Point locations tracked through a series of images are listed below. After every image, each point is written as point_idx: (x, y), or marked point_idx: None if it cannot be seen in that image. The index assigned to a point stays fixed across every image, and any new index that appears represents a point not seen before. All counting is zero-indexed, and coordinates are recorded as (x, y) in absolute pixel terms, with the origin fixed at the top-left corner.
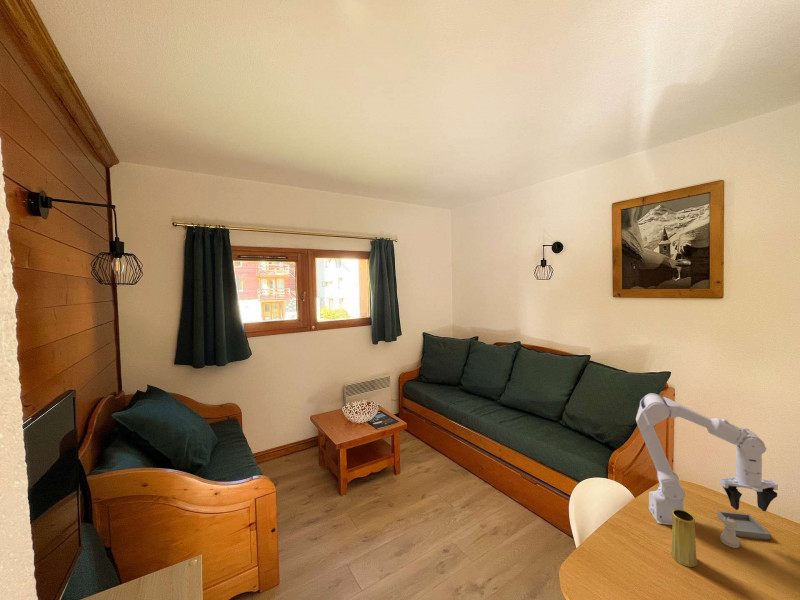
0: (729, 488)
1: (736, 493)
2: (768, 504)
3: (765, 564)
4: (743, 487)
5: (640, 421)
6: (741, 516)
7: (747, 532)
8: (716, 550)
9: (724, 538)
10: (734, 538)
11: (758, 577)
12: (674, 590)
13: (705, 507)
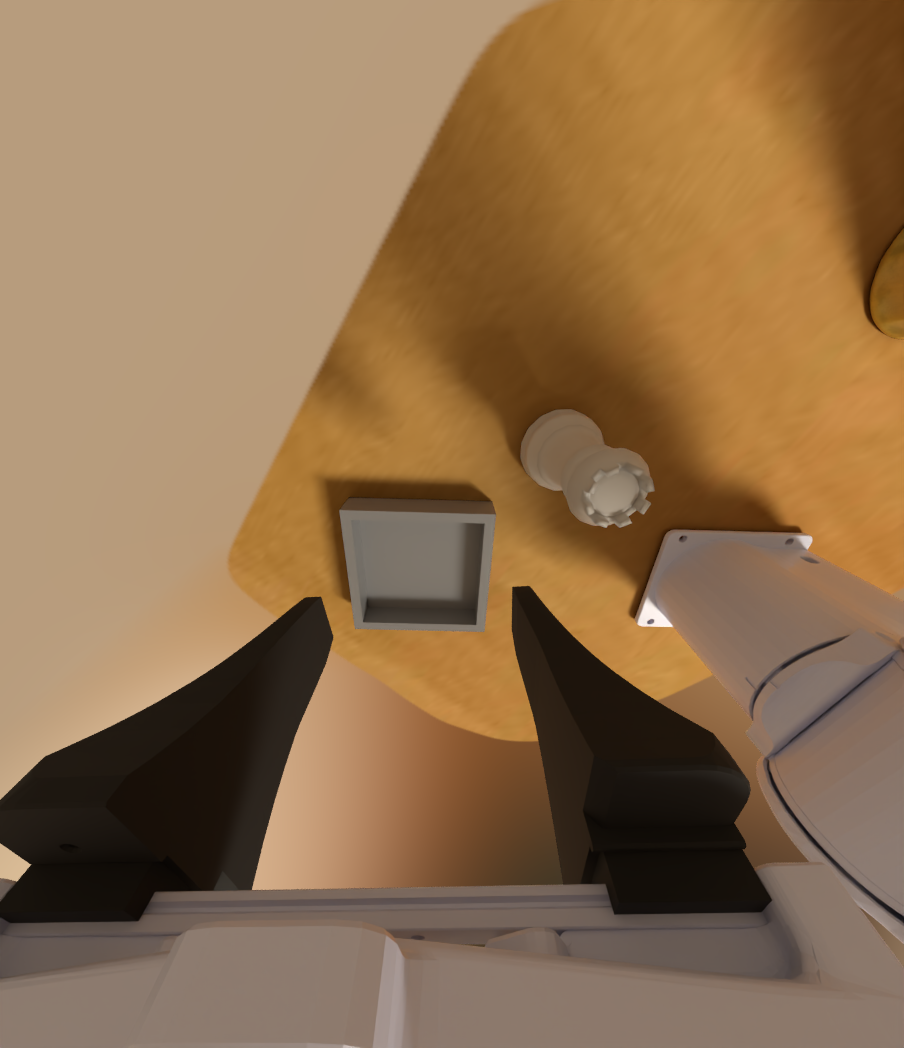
0: (722, 851)
1: (708, 764)
2: (252, 644)
3: (486, 301)
4: (589, 974)
5: None
6: (392, 615)
7: (441, 510)
8: (672, 378)
9: (602, 443)
10: (568, 432)
11: (611, 157)
12: None
13: (494, 653)
